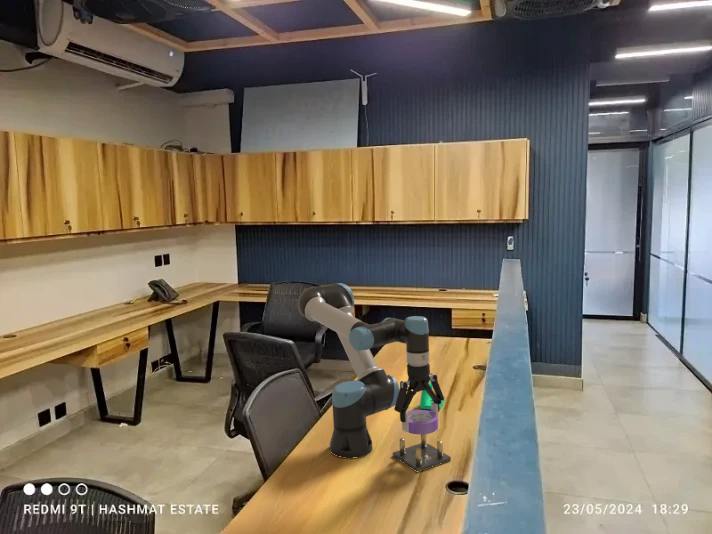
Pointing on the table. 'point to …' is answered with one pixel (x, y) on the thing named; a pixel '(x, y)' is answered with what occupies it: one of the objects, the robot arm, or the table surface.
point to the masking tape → (422, 422)
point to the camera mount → (428, 400)
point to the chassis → (421, 454)
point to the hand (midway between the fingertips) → (420, 426)
